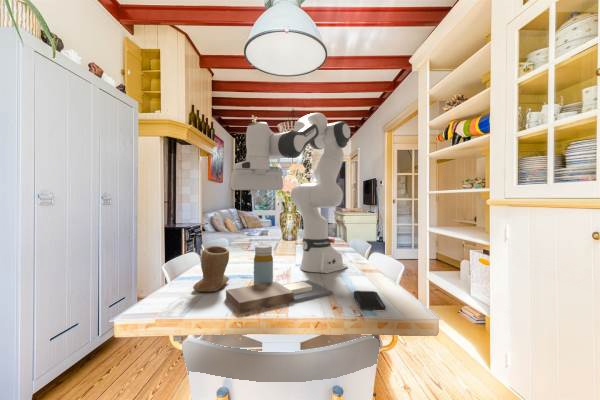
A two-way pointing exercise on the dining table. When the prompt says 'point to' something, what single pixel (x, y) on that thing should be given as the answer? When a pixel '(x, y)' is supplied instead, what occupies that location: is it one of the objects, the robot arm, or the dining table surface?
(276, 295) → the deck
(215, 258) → the stone cup
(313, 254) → the robot arm
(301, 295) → the mat
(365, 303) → the phone
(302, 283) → the tile
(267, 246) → the bottle
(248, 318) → the dining table surface
